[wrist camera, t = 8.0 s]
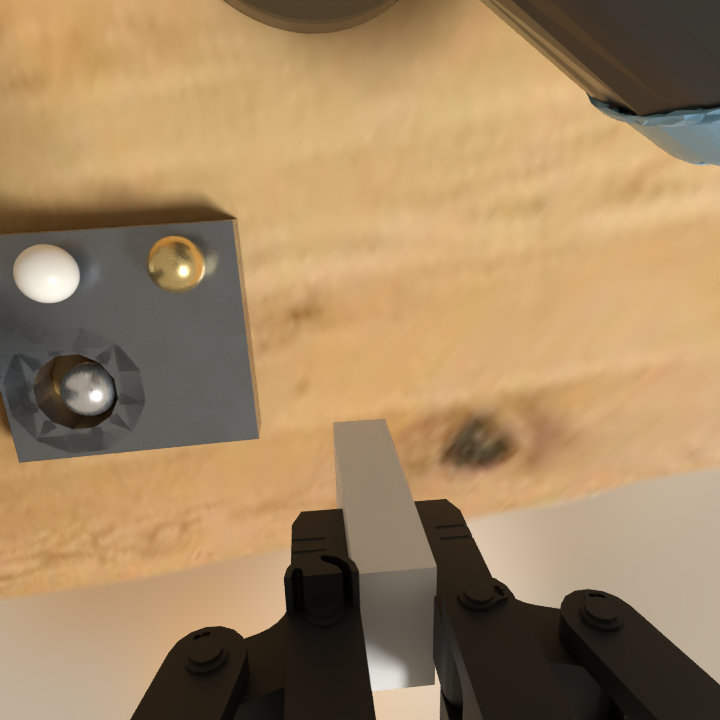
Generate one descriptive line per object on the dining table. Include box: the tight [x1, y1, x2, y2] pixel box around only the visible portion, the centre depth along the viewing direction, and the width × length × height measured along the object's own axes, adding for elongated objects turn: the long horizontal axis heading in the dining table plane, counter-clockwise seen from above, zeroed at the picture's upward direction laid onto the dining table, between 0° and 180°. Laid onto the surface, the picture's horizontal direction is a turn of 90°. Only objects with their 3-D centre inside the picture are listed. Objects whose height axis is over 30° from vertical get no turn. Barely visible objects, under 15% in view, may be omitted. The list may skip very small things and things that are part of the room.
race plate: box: [0, 219, 261, 463], centre depth 33 cm, size 13×14×2 cm
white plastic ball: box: [13, 244, 80, 303], centre depth 29 cm, size 3×3×3 cm
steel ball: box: [60, 362, 118, 416], centre depth 33 cm, size 3×3×3 cm
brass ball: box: [146, 236, 206, 294], centre depth 29 cm, size 3×3×3 cm
